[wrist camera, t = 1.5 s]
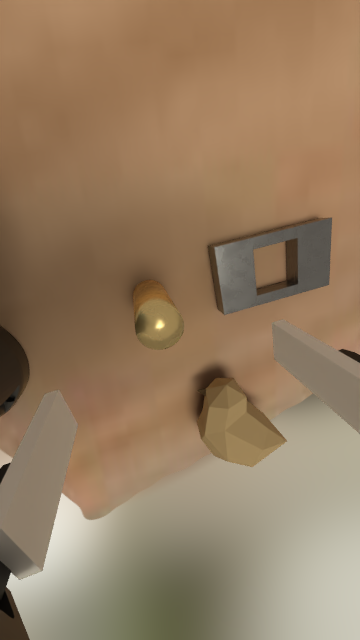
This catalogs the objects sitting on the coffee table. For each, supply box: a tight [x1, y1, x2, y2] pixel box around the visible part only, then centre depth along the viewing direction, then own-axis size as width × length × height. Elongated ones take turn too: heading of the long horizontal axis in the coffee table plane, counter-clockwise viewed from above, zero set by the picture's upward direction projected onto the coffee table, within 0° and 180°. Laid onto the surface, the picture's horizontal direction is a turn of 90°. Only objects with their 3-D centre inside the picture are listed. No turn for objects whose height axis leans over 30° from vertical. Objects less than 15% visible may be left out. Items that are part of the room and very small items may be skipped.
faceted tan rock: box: [197, 378, 287, 467], centre depth 36 cm, size 15×11×12 cm
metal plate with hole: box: [208, 218, 332, 315], centre depth 32 cm, size 16×9×2 cm, turn 102°
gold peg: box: [133, 280, 184, 350], centre depth 26 cm, size 4×4×11 cm
